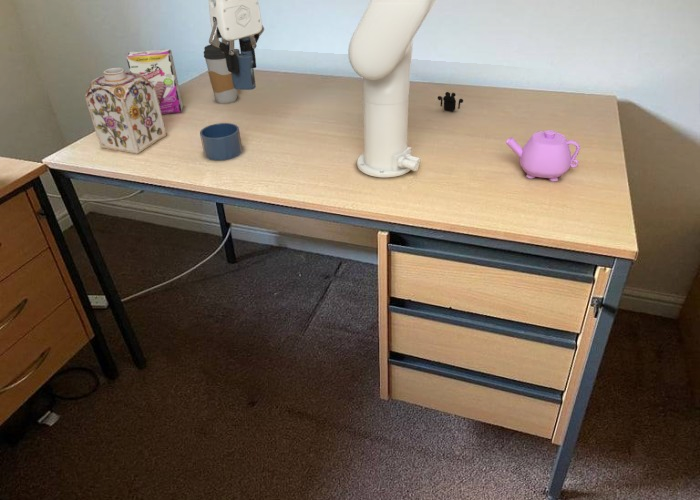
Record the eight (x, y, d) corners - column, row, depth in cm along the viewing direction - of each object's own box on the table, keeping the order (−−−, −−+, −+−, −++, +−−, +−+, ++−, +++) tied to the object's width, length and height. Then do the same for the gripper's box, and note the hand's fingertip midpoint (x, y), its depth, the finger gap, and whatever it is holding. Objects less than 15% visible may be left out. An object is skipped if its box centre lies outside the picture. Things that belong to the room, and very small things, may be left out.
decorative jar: (99, 148, 133) (75, 75, 123) (131, 130, 142) (111, 60, 132) (138, 155, 130) (117, 80, 119) (168, 135, 138) (151, 64, 128)
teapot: (575, 188, 109) (585, 145, 104) (499, 179, 113) (505, 137, 108) (575, 165, 117) (584, 124, 112) (504, 157, 121) (510, 118, 116)
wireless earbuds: (462, 111, 144) (464, 92, 141) (460, 114, 142) (461, 96, 140) (437, 107, 147) (438, 89, 144) (434, 111, 145) (435, 92, 142)
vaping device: (254, 90, 119) (246, 33, 112) (231, 89, 120) (223, 32, 113) (258, 86, 121) (251, 30, 114) (236, 85, 122) (227, 29, 115)
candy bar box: (141, 117, 149) (124, 56, 140) (143, 110, 153) (127, 51, 144) (182, 113, 151) (169, 53, 141) (184, 106, 155) (170, 47, 145)
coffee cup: (247, 97, 159) (239, 44, 150) (227, 106, 154) (218, 52, 145) (226, 92, 163) (217, 41, 154) (206, 101, 157) (195, 48, 149)
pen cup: (250, 150, 129) (246, 128, 126) (220, 164, 124) (215, 142, 121) (226, 141, 134) (222, 120, 131) (196, 153, 129) (192, 132, 126)
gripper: (205, -15, 100) (222, 83, 111) (273, -28, 110) (282, 63, 121) (182, -19, 104) (200, 76, 115) (249, -31, 114) (260, 57, 125)
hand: (242, 68), depth 118 cm, fingers closed on vaping device, 4 cm apart
